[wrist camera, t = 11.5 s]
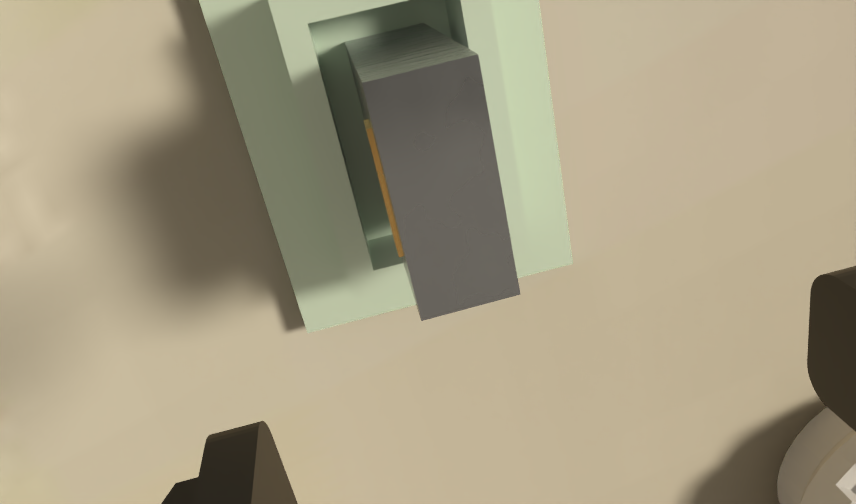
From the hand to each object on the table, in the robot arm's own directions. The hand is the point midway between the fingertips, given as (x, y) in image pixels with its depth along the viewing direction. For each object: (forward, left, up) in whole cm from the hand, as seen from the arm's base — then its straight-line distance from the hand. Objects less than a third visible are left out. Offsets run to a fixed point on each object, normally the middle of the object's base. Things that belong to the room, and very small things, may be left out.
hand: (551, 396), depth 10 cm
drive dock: (0, 0, -20) cm, 20 cm away
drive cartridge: (0, 0, -19) cm, 19 cm away
